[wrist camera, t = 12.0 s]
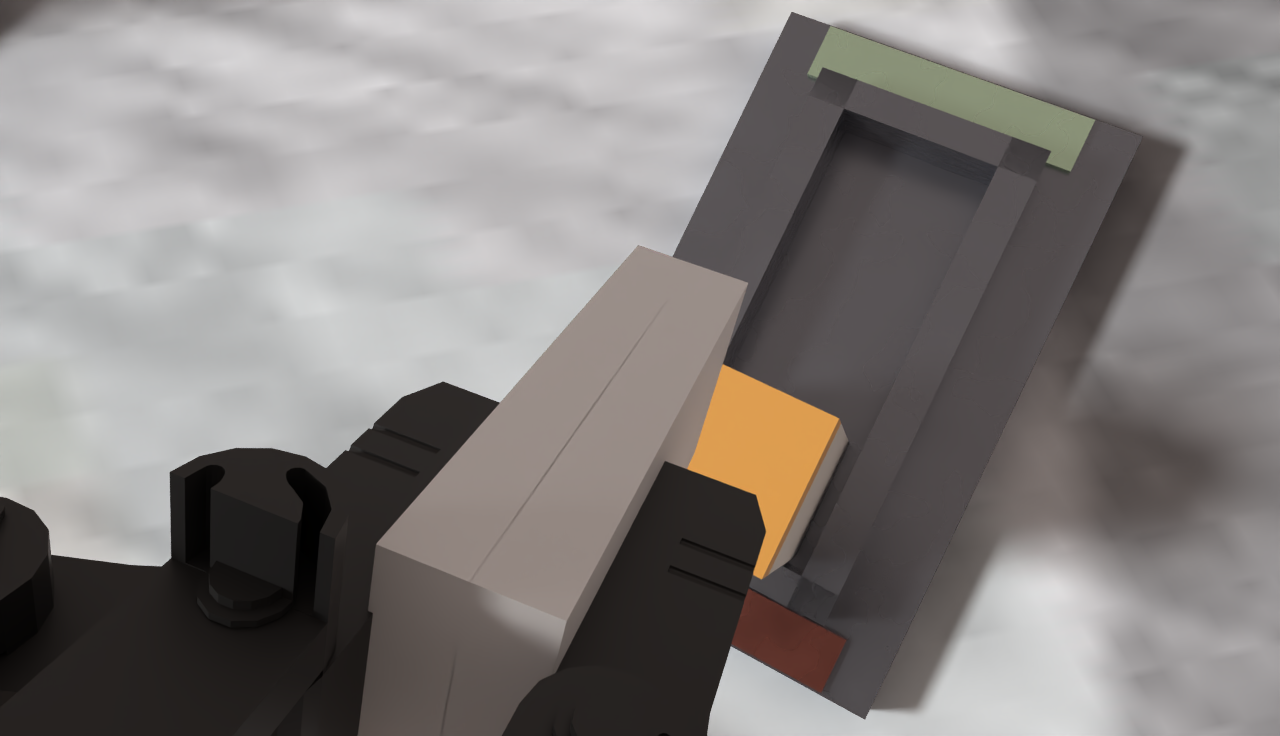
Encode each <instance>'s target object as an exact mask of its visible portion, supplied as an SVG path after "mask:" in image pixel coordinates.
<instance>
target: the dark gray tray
mask: <svg viewBox="0 0 1280 736" xmlns="http://www.w3.org/2000/svg"><path fill="white" fill-rule="evenodd" d="M1142 138H1143V136H1141V135H1138V134H1135V133H1132V132H1129V131H1126V130H1124V129H1121V128H1118V127H1115V126H1112V125H1110V124H1107V123H1104V122H1101V121H1098V120H1095V119H1093V118H1090V117H1087V116H1084V115H1081V114H1078V113H1076V112H1073V111H1070V110H1067V109H1064V108H1062V107H1059V106H1056V105H1053V104H1050V103H1047V102H1045V101H1042V100H1039V99H1036V98H1033V97H1031V96H1028V95H1025V94H1022V93H1019V92H1016V91H1014V90H1011V89H1008V88H1005V87H1002V86H999V85H997V84H994V83H991V82H988V81H985V80H983V79H980V78H977V77H974V76H971V75H968V74H966V73H963V72H960V71H957V70H954V69H952V68H949V67H946V66H943V65H940V64H937V63H935V62H932V61H929V60H926V59H923V58H920V57H918V56H915V55H912V54H909V53H906V52H904V51H901V50H898V49H895V48H892V47H889V46H887V45H884V44H881V43H878V42H875V41H873V40H870V39H867V38H864V37H861V36H858V35H856V34H853V33H850V32H847V31H844V30H841V29H839V28H836V27H833V26H830V25H827V24H825V23H822V22H819V21H816V20H813V19H810V18H808V17H805V16H802V15H799V14H796V13H794V12H791V14H790V16H789V18H788V20H787V22H786V25H785V27H784V29H783V31H782V33H781V35H780V37H779V39H778V41H777V43H776V45H775V47H774V49H773V51H772V53H771V55H770V57H769V59H768V62H767V64H766V66H765V68H764V70H763V72H762V74H761V76H760V78H759V80H758V82H757V84H756V86H755V88H754V90H753V92H752V94H751V97H750V99H749V101H748V103H747V105H746V107H745V109H744V111H743V113H742V115H741V117H740V119H739V121H738V123H737V125H736V127H735V129H734V131H733V134H732V136H731V138H730V140H729V142H728V144H727V146H726V148H725V150H724V152H723V154H722V156H721V158H720V160H719V162H718V164H717V166H716V168H715V171H714V173H713V175H712V177H711V179H710V181H709V183H708V185H707V187H706V189H705V191H704V193H703V195H702V197H701V199H700V201H699V203H698V205H697V208H696V210H695V212H694V214H693V216H692V218H691V220H690V222H689V224H688V226H687V228H686V230H685V232H684V234H683V236H682V238H681V240H680V243H679V245H678V247H677V249H676V251H675V253H674V255H673V257H674V258H677V259H680V260H683V261H686V262H689V263H692V264H695V265H698V266H700V267H703V268H706V269H709V270H712V271H715V272H718V273H721V274H724V275H727V276H730V277H733V278H736V279H739V280H742V281H745V282H747V283H748V285H747V289H746V292H745V295H744V298H743V301H742V304H741V307H740V311H739V314H738V317H737V320H736V323H735V326H734V330H733V333H732V336H731V339H730V342H729V345H728V349H727V352H726V355H725V358H724V361H723V364H724V365H726V366H728V367H730V368H732V369H734V370H736V371H739V372H741V373H743V374H745V375H747V376H749V377H751V378H754V379H756V380H758V381H760V382H762V383H764V384H766V385H769V386H771V387H773V388H775V389H777V390H779V391H781V392H784V393H786V394H788V395H790V396H792V397H794V398H796V399H799V400H801V401H803V402H805V403H807V404H809V405H811V406H814V407H816V408H818V409H820V410H822V411H824V412H827V413H829V414H831V415H833V416H835V417H837V418H839V419H840V422H841V424H842V426H843V429H844V431H845V434H846V436H847V439H848V441H849V444H848V447H847V449H846V451H845V453H844V455H843V457H842V459H841V461H840V463H839V465H838V467H837V469H836V472H835V474H834V476H833V478H832V480H831V482H830V484H829V486H828V488H827V490H826V492H825V494H824V497H823V499H822V501H821V503H820V505H819V507H818V509H817V511H816V513H815V515H814V517H813V519H812V521H811V524H810V526H809V528H808V530H807V532H806V534H805V536H804V538H803V540H802V542H801V544H800V546H799V549H798V551H797V553H796V555H795V557H794V558H793V559H791V560H790V561H788V562H787V563H785V564H784V565H782V566H781V567H779V568H778V569H776V570H775V571H773V572H772V573H771V574H769V575H768V576H766V577H765V578H763V579H760V578H758V577H756V576H754V575H753V576H752V579H751V582H750V586H749V589H748V592H747V595H746V598H745V601H744V605H743V608H742V611H741V615H740V618H739V621H738V624H737V628H736V631H735V634H734V637H733V640H732V644H731V646H732V647H734V648H735V649H737V650H739V651H741V652H743V653H745V654H746V655H748V656H750V657H752V658H754V659H755V660H757V661H759V662H761V663H763V664H765V665H766V666H768V667H770V668H772V669H774V670H776V671H777V672H779V673H781V674H783V675H785V676H786V677H788V678H790V679H792V680H794V681H796V682H797V683H799V684H801V685H803V686H805V687H807V688H808V689H810V690H812V691H814V692H816V693H817V694H819V695H821V696H823V697H825V698H827V699H828V700H830V701H832V702H834V703H836V704H838V705H839V706H841V707H843V708H845V709H847V710H848V711H850V712H852V713H854V714H856V715H858V716H859V717H861V718H863V719H865V718H866V716H867V714H868V712H869V710H870V708H871V706H872V704H873V701H874V699H875V697H876V695H877V693H878V691H879V689H880V687H881V685H882V683H883V681H884V678H885V676H886V674H887V672H888V670H889V668H890V666H891V664H892V662H893V660H894V657H895V655H896V653H897V651H898V649H899V647H900V645H901V643H902V641H903V639H904V637H905V634H906V632H907V630H908V628H909V626H910V624H911V622H912V620H913V618H914V616H915V613H916V611H917V609H918V607H919V605H920V603H921V601H922V599H923V597H924V595H925V593H926V590H927V588H928V586H929V584H930V582H931V580H932V578H933V576H934V574H935V572H936V569H937V567H938V565H939V563H940V561H941V559H942V557H943V555H944V553H945V551H946V548H947V546H948V544H949V542H950V540H951V538H952V536H953V534H954V532H955V530H956V528H957V525H958V523H959V521H960V519H961V517H962V515H963V513H964V511H965V509H966V507H967V504H968V502H969V500H970V498H971V496H972V494H973V492H974V490H975V488H976V486H977V484H978V481H979V479H980V477H981V475H982V473H983V471H984V469H985V467H986V465H987V463H988V460H989V458H990V456H991V454H992V452H993V450H994V448H995V446H996V444H997V442H998V440H999V437H1000V435H1001V433H1002V431H1003V429H1004V427H1005V425H1006V423H1007V421H1008V419H1009V416H1010V414H1011V412H1012V410H1013V408H1014V406H1015V404H1016V402H1017V400H1018V398H1019V396H1020V393H1021V391H1022V389H1023V387H1024V385H1025V383H1026V381H1027V379H1028V377H1029V375H1030V372H1031V370H1032V368H1033V366H1034V364H1035V362H1036V360H1037V358H1038V356H1039V354H1040V351H1041V349H1042V347H1043V345H1044V343H1045V341H1046V339H1047V337H1048V335H1049V333H1050V331H1051V328H1052V326H1053V324H1054V322H1055V320H1056V318H1057V316H1058V314H1059V312H1060V310H1061V307H1062V305H1063V303H1064V301H1065V299H1066V297H1067V295H1068V293H1069V291H1070V289H1071V287H1072V284H1073V282H1074V280H1075V278H1076V276H1077V274H1078V272H1079V270H1080V268H1081V266H1082V263H1083V261H1084V259H1085V257H1086V255H1087V253H1088V251H1089V249H1090V247H1091V245H1092V243H1093V240H1094V238H1095V236H1096V234H1097V232H1098V230H1099V228H1100V226H1101V224H1102V222H1103V219H1104V217H1105V215H1106V213H1107V211H1108V209H1109V207H1110V205H1111V203H1112V201H1113V199H1114V196H1115V194H1116V192H1117V190H1118V188H1119V186H1120V184H1121V182H1122V180H1123V178H1124V175H1125V173H1126V171H1127V169H1128V167H1129V165H1130V163H1131V161H1132V159H1133V157H1134V154H1135V152H1136V150H1137V148H1138V146H1139V144H1140V142H1141V140H1142Z"/></svg>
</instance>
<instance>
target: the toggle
mask: <svg viewBox="0 0 1280 736" xmlns="http://www.w3.org/2000/svg"><path fill="white" fill-rule="evenodd" d="M848 444H849V441H848V439H847V436H846V434H845V431H844V429H843V426H842V424H841V422H840V419H839V418H837V417H835V416H833V415H831V414H829V413H827V412H824V411H822V410H820V409H818V408H816V407H814V406H811V405H809V404H807V403H805V402H803V401H801V400H799V399H796V398H794V397H792V396H790V395H788V394H786V393H784V392H781V391H779V390H777V389H775V388H773V387H771V386H769V385H766V384H764V383H762V382H760V381H758V380H756V379H754V378H751V377H749V376H747V375H745V374H743V373H741V372H739V371H736V370H734V369H732V368H730V367H728V366H726V365H724V364H722V367H721V371H720V374H719V377H718V380H717V383H716V386H715V390H714V393H713V396H712V399H711V402H710V405H709V408H708V412H707V415H706V418H705V421H704V424H703V427H702V431H701V434H700V437H699V440H698V443H697V446H696V450H695V453H694V455H693V457H692V459H691V461H690V463H689V466H688V468H687V469H688V470H691V471H693V472H696V473H699V474H701V475H704V476H707V477H710V478H712V479H715V480H718V481H720V482H723V483H726V484H728V485H731V486H734V487H736V488H739V489H742V490H744V491H747V492H750V493H752V494H755V495H756V496H757V500H758V504H759V507H760V511H761V514H762V518H763V521H764V525H765V529H766V534H765V537H764V540H763V544H762V547H761V550H760V553H759V557H758V560H757V563H756V566H755V569H754V572H753V575H754V576H756V577H758V578H760V579H763V578H765V577H766V576H768V575H769V574H771V573H772V572H773V571H775V570H776V569H778V568H779V567H781V566H782V565H784V564H785V563H787V562H788V561H790V560H791V559H793V558H794V557H795V555H796V553H797V551H798V549H799V546H800V544H801V542H802V540H803V538H804V536H805V534H806V532H807V530H808V528H809V526H810V524H811V521H812V519H813V517H814V515H815V513H816V511H817V509H818V507H819V505H820V503H821V501H822V499H823V497H824V494H825V492H826V490H827V488H828V486H829V484H830V482H831V480H832V478H833V476H834V474H835V472H836V469H837V467H838V465H839V463H840V461H841V459H842V457H843V455H844V453H845V451H846V449H847V447H848Z"/></svg>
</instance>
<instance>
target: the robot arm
mask: <svg viewBox="0 0 1280 736" xmlns="http://www.w3.org/2000/svg"><path fill="white" fill-rule="evenodd" d="M747 285H748V283H747V282H745V281H742V280H739V279H736V278H733V277H730V276H727V275H724V274H721V273H718V272H715V271H712V270H709V269H706V268H703V267H700V266H698V265H695V264H692V263H689V262H686V261H683V260H680V259H677V258H674V257H671V256H668V255H665V254H662V253H659V252H656V251H654V250H651V249H648V248H645V247H642V246H639V245H638V246H637V247H636V249H635V250H634V251H633V252H632V253H631V254H630V255H629V257H628V258H627V259H626V260H625V261H624V262H623V263H622V264H621V266H620V267H619V268H618V269H617V270H616V271H615V272H614V274H613V275H612V276H611V277H610V278H609V279H608V280H607V282H606V283H605V284H604V285H603V286H602V287H601V288H600V290H599V291H598V292H597V293H596V294H595V295H594V296H593V298H592V299H591V300H590V301H589V302H588V303H587V304H586V305H585V307H584V308H583V309H582V310H581V311H580V312H579V313H578V315H577V316H576V317H575V318H574V319H573V320H572V321H571V323H570V324H569V325H568V326H567V327H566V328H565V329H564V331H563V332H562V333H561V334H560V335H559V336H558V337H557V339H556V340H555V341H554V342H553V343H552V344H551V345H550V347H549V348H548V349H547V350H546V351H545V352H544V353H543V354H542V356H541V357H540V358H539V359H538V360H537V361H536V362H535V364H534V365H533V366H532V367H531V368H530V369H529V370H528V372H527V373H526V374H525V375H524V376H523V377H522V378H521V380H520V381H519V382H518V383H517V384H516V385H515V386H514V388H513V389H512V390H511V391H510V392H509V393H508V394H507V395H506V397H505V398H504V399H503V400H502V401H501V402H500V403H499V402H496V401H494V400H491V399H488V398H486V397H483V396H480V395H478V394H475V393H472V392H470V391H467V390H464V389H462V388H459V387H456V386H453V385H451V384H448V383H445V382H441V383H438V384H436V385H433V386H431V387H428V388H425V389H423V390H420V391H417V392H415V393H412V394H410V395H407V396H404V397H402V398H401V399H400V400H399V401H398V402H397V403H396V404H394V405H393V406H392V407H391V408H390V409H389V410H388V411H387V412H386V413H385V414H384V415H383V416H382V417H381V418H379V419H378V420H377V421H376V422H375V423H374V426H373V428H372V429H368V430H367V431H366V432H364V433H363V434H362V435H361V436H360V437H359V438H358V439H357V440H356V441H355V442H354V443H353V444H352V445H351V448H350V450H349V451H346V450H345V451H344V452H343V453H342V454H341V455H340V456H339V457H338V458H337V459H336V460H335V461H333V462H332V463H331V464H330V465H329V466H328V467H327V468H324V467H323V466H321V465H319V464H317V463H316V462H314V461H312V460H311V459H309V458H307V457H305V456H301V455H297V454H293V453H289V452H285V451H281V450H277V449H272V448H234V449H230V450H225V451H221V452H216V453H212V454H208V455H203V456H199V457H197V458H195V459H194V460H192V461H190V462H188V463H186V464H184V465H182V466H180V467H178V468H177V469H175V470H173V471H171V472H170V508H171V559H170V560H169V561H168V562H166V563H165V564H164V565H163V566H162V567H160V566H137V565H126V564H118V563H111V562H103V561H95V560H87V559H79V558H71V557H64V556H56V555H51V549H50V539H49V530H48V528H47V527H46V526H45V524H44V523H43V522H42V521H41V519H40V518H39V517H38V515H37V514H36V513H35V511H34V510H32V509H29V508H27V507H25V506H23V505H21V504H19V503H17V502H14V501H12V500H10V499H8V498H4V497H0V736H707V730H708V723H709V716H710V711H711V708H712V705H713V702H714V698H715V695H716V692H717V689H718V686H719V682H720V679H721V676H722V673H723V669H724V666H725V663H726V660H727V657H728V653H729V650H730V647H731V644H732V640H733V637H734V634H735V631H736V628H737V624H738V621H739V618H740V615H741V611H742V608H743V605H744V601H745V598H746V595H747V592H748V589H749V586H750V582H751V579H752V576H753V572H754V569H755V566H756V563H757V560H758V557H759V553H760V550H761V547H762V544H763V540H764V537H765V534H766V529H765V525H764V521H763V518H762V514H761V511H760V507H759V504H758V500H757V496H756V495H755V494H752V493H750V492H747V491H744V490H742V489H739V488H736V487H734V486H731V485H728V484H726V483H723V482H720V481H718V480H715V479H712V478H710V477H707V476H704V475H701V474H699V473H696V472H693V471H691V470H688V469H687V468H688V466H689V463H690V461H691V459H692V457H693V455H694V453H695V450H696V446H697V443H698V440H699V437H700V434H701V431H702V427H703V424H704V421H705V418H706V415H707V412H708V408H709V405H710V402H711V399H712V396H713V393H714V390H715V386H716V383H717V380H718V377H719V374H720V371H721V367H722V364H723V361H724V358H725V355H726V352H727V349H728V345H729V342H730V339H731V336H732V333H733V330H734V326H735V323H736V320H737V317H738V314H739V311H740V307H741V304H742V301H743V298H744V295H745V292H746V289H747Z"/></svg>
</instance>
